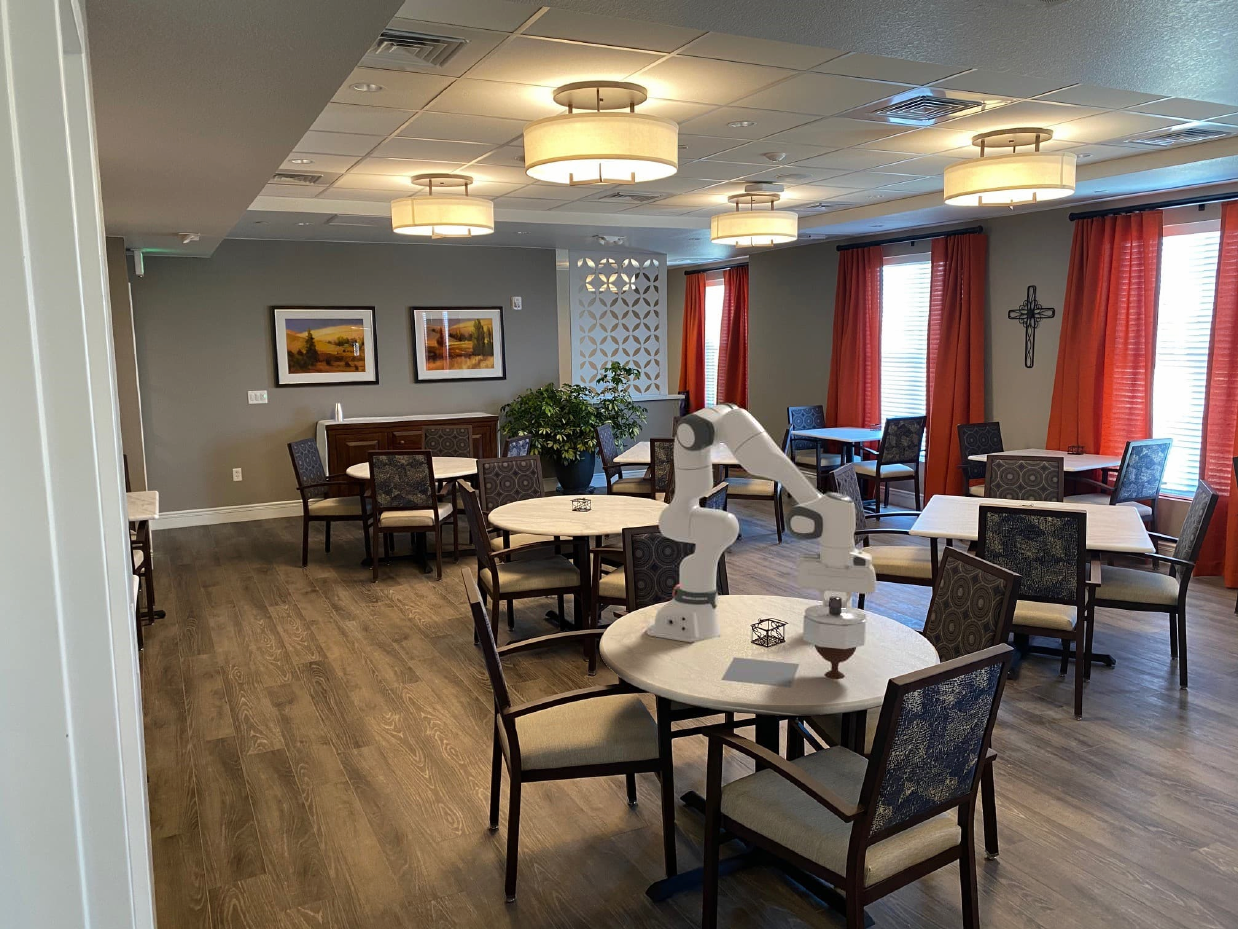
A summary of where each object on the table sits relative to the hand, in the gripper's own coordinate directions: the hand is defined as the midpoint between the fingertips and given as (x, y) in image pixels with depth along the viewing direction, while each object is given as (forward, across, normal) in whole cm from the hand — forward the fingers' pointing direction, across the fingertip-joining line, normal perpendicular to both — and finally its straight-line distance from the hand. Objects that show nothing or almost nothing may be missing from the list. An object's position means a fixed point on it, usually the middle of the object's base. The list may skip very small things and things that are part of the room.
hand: (835, 607), depth 237 cm
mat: (+19, -19, -3) cm, 27 cm away
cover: (+8, 0, 0) cm, 8 cm away
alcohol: (+19, -3, +43) cm, 48 cm away
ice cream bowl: (+19, 0, 0) cm, 19 cm away
